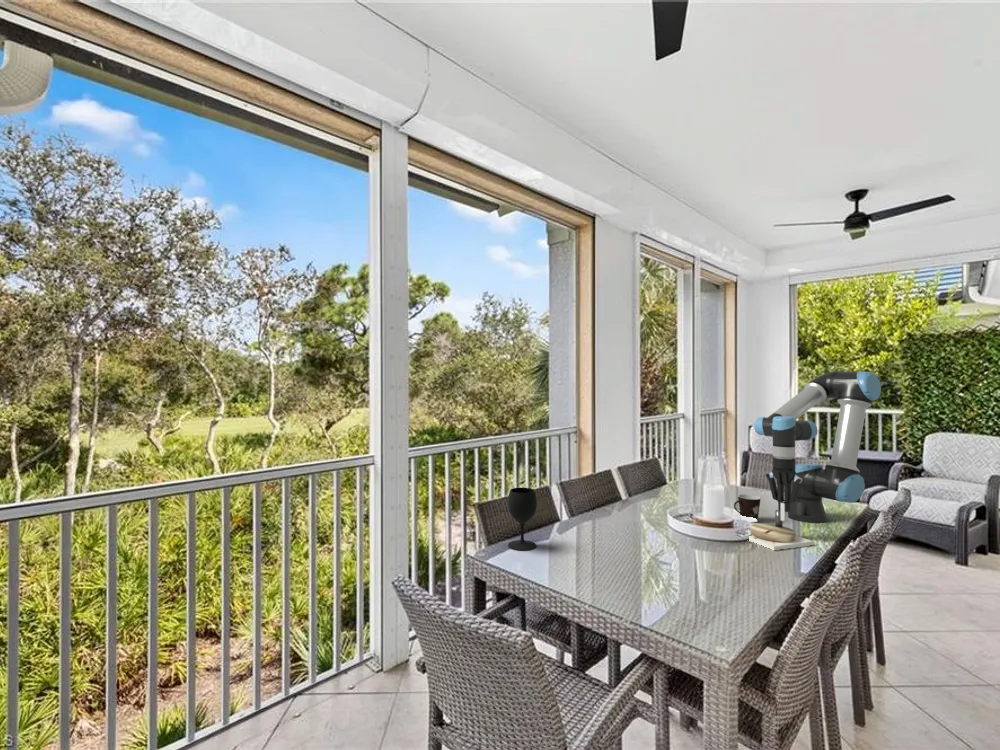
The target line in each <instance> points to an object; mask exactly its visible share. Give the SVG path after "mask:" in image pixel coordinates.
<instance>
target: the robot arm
mask: <svg viewBox="0 0 1000 750" xmlns="http://www.w3.org/2000/svg"><path fill="white" fill-rule="evenodd" d="M881 387H882V386H881V383H880V380H879V377H878V376H877V375H876V374H875V373H874V372H872V371H863V370H859V371H858V370H857V371H837V370H836V371H830V372H827V373H824V374H821V375H819V376H817V377H815V378H813V379H811V380H810V381H809V382H808V383H806V384H805V385H804V386H803V389H802V390H801V391H800V392H798V393H797V394H796V395H795V396H793V397H792V398H790V399H789V400H788V401H787V402H786V403H784V404H783V405H781V407H779V408H778V409H776V411H774V412H773V413H771V414H770V415H769V416H767V417H765V416H763V417H758V418H756V419H755V421H754V424H753V429H754V431H755V434H757V435H760V436H765V437H771V438H772V456H773V457H772V467H773V468H772V469H771V472H769V473H765V476H766V478H767V481H768V485H769V488H770V492H771V497H772V499H773V500H775V501H777V503H778V507H777V510H779V511H781V520H782V521H783V522H785V521H788V520H789V519H792V520H796V521H799V522H805V523H826V522H827V521H828V516H827V512H826V510H825V507H824V504H823V499H828V500H832V501H837V502H839V503H847V504H851V503H855V502H857V501H858V500H860V498H861V497H862V496H863V494H864V491H865V487H866V486H865V485H866V483H865V479H864V477H863V476H861V475H860V473H861V472H860V469H859V468H858V467H857V463H858V457H859V453H860V452H859V451H860V445H861V439H862V434H863V427H864V423H865V416H866V411H867V409H868V408H870V407H871V406H872V402H873V401H876V400H878V399H879V398H880V397H881V393H882V388H881ZM828 399H837V404H839V405H840V409H839V412H838V413H839V415H838V419H837V425H836V431H835V435H834V436H835V437H834V441H833V447H832V454H831V457H830V459H831V460H830V461H829V462H828V463H827V462H826V464H825V468H824V467H823V465H822V464H818V463H798V464H797V463H796V459H795V457H796V442H797V441H809V440H812V439H815V437H816V436H817V435H818V426H817V425H816V424H815V423H814V422H813V421H811V420H806V419H805V420H804V419H803V420H798V419H799V418H800V417H802V416H803V415H804V414H805V413H807V412H808V411H809V410H811V408H813V407H814V406H816V404H818V403H823V402H825V401H826V400H828Z"/></svg>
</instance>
